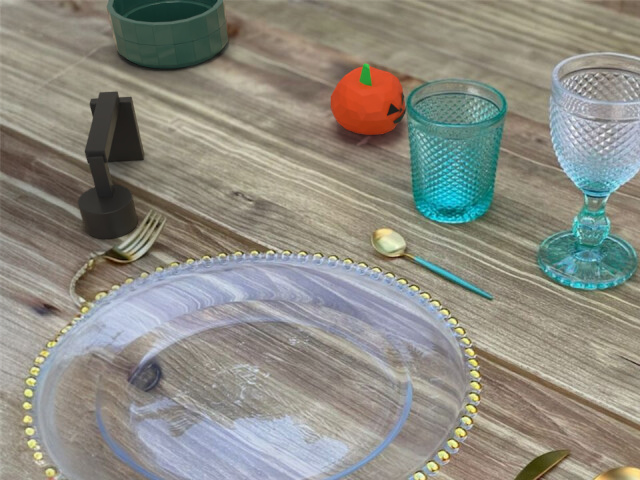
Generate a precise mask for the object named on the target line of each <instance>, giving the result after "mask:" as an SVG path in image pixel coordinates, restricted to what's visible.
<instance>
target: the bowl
mask: <svg viewBox="0 0 640 480" xmlns="http://www.w3.org/2000/svg"><path fill="white" fill-rule="evenodd" d="M106 11H107V16H108V19H109V24H110V29H111V33H112V37H113V42H114V47H115V48H116V49H115V50H117V52H118V54H119V55H120V56H122V57H123V58H125V59H126V60H128V61H129V62H131V63H133V64H135V65H138V66H141V67H145V68H150V69H162V70H163V69H179V68H180V69H181V68H186V67H192V66H195V65H198V64H201V63H204V62H206V61H209V60H210V59H212V58H214V57H215V56H217V55H218V54H220V52H221V51H222V50H223V49H224V47H226V46H227V44H228V42H229V38H230V32H229V25H228V19H227V10H226V4H225V0H107V3H106Z"/></svg>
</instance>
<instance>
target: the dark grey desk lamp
mask: <svg viewBox="0 0 640 480" xmlns="http://www.w3.org/2000/svg"><path fill="white" fill-rule="evenodd" d="M89 108H90V112H91V116H92V120H91V125H90V128H89V133H88V136H87V140H86V143H85V147H84V154H85V155H84V156H85V158H86V163H87V165H88V166H89V169H90V173H91V177H92V180H93V184H94V187H91V188H89V189H87V190H85V191H83V192H82V193H81V195H80V196H79V198H78V200H77V206H78V209H79V213H80V216H81V219H82V223H83V227H84V229H85V232H86V233H87V234H88V235H90V236H91V237H94V238H97V239H102V240H103V239H104V240H107V239H108V240H109V239H116V238H120V237H123V236H125V235H128V234H129V233H131V232H132V231H134V229H135V228H136V227H137V225H138V222H139V219H138V218H139V217H138V214H137V209H136V206H135V201H134V198H133V197H134V196H133V193H132V191H131V190H130V189H129V188H128V187H125V186H123V185H120V184H113V179H112V176H111V172H110V168H109V163H110V162H124V161H143V160H144V158H145V150H144V147H143V146H144V145H143V141H142V137H141V132H140V127H139V124H138V119H137V113H136V109H135V106H134V101H133V97H132V96H120V95H119V91H117V90H116V91H115V90H114V91H100V92H99V93H98V97H97V98H90V100H89ZM108 162H109V163H108Z"/></svg>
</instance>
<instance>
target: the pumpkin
mask: <svg viewBox="0 0 640 480" xmlns="http://www.w3.org/2000/svg"><path fill="white" fill-rule="evenodd" d="M330 109H331V113H332V115H333V117H334V119H335V120H336V122H337V124H339V125H340V126H341V127H342V128H344V129H345V130H347V131H349V132H352V133H355V134H357V135H358V134H359V135H365V136H375V135H377V136H378V135H384V134H386V133H389V132H391V131H393V130H395V128H396V127H397V125H398V124H400V122H401V121H402V119H403V118H404V117H405V115H406V114H407V113H406V112H407V107H406V102H405V94H404V90H403V85H402V83H401V82H400V80H399V78H398V77H397V76H396V75H394V74H392V73H391V72H390V71H386V70H383V69H379V68H376V67H374V66H371V65H370V64H368V63H366V62H365V63H363V65H362V66H360V67H359V66H358V67H356V68H354V69H352V70H351V71H349V72H348V73H346V74H345V75H343V77H342V78H341V79H340V80H339V81H338V82H337V84H336V86H335V88H334V89H333V91H332V93H331V95H330Z"/></svg>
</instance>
